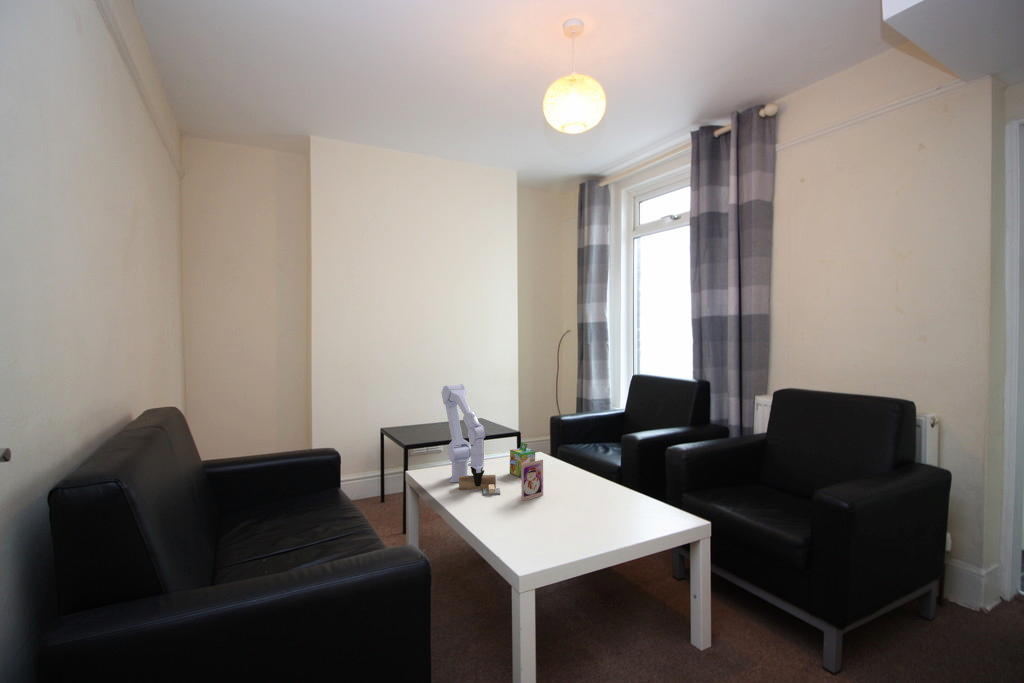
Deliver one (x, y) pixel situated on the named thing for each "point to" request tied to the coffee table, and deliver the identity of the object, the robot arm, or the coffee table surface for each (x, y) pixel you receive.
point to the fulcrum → (491, 490)
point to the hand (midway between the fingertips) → (477, 484)
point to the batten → (469, 483)
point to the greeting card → (531, 479)
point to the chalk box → (520, 458)
